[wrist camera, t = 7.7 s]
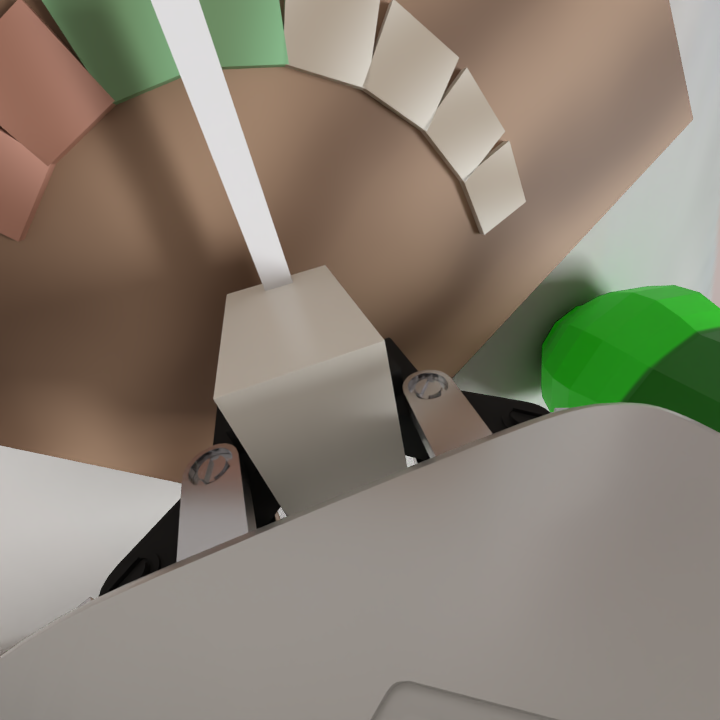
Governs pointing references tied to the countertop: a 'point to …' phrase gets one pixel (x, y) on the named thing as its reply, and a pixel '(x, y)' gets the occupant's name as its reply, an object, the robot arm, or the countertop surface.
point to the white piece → (286, 324)
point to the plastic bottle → (637, 353)
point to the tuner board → (296, 187)
